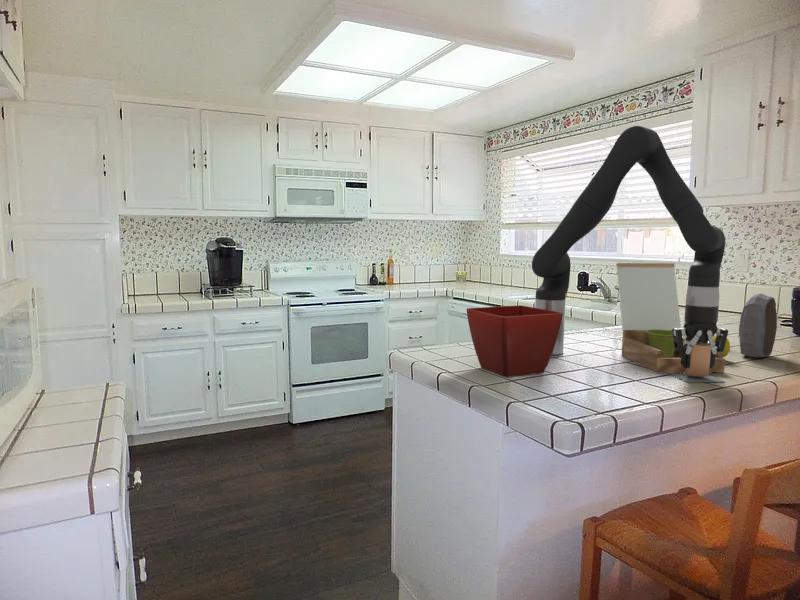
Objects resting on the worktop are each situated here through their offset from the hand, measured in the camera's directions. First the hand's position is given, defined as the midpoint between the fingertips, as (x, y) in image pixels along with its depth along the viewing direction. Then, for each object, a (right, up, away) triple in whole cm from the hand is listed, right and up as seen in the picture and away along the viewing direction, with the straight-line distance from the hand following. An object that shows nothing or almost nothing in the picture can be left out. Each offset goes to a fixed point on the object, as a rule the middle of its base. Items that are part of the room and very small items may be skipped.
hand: (697, 367), depth 141 cm
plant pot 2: (+1, -1, +22) cm, 22 cm away
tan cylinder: (0, -2, 0) cm, 2 cm away
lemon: (+19, -1, +23) cm, 30 cm away
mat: (0, -3, 0) cm, 3 cm away
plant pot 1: (-47, -2, +7) cm, 48 cm away
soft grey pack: (+34, 0, +29) cm, 45 cm away
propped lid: (+1, +1, +34) cm, 34 cm away
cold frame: (+1, -1, +17) cm, 17 cm away
